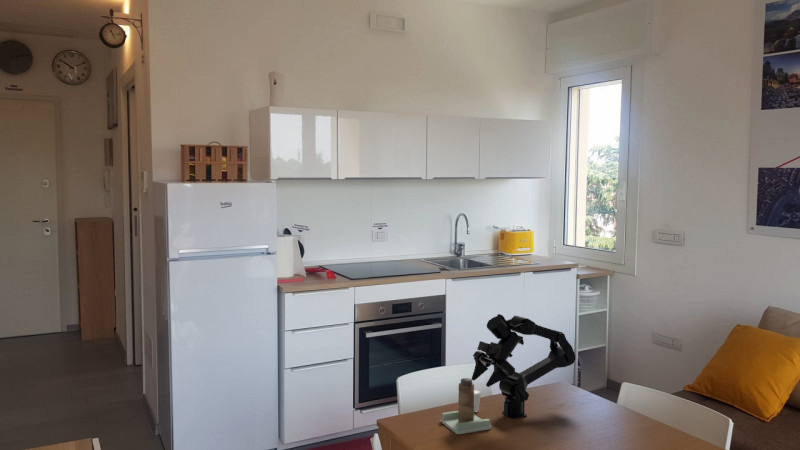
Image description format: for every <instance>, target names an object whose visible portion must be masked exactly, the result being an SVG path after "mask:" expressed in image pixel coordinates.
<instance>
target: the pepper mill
mask: <svg viewBox="0 0 800 450" xmlns="http://www.w3.org/2000/svg"><path fill="white" fill-rule="evenodd" d="M474 389H475V384H474V383H473V380H472V378H468V377H463V378H461V379H460V382H459V383H458V405H457V406H458V409H457V411H458V423H464V422H470V421H474V415H475V413H474Z"/></svg>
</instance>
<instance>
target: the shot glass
mask: <svg viewBox="0 0 800 450" xmlns="http://www.w3.org/2000/svg"><path fill="white" fill-rule="evenodd" d="M481 393H482V392H481V390H479V389H476V388H474V412H476V413H478V412H479V411H480V401H481Z"/></svg>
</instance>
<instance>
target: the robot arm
mask: <svg viewBox="0 0 800 450" xmlns="http://www.w3.org/2000/svg"><path fill="white" fill-rule="evenodd" d="M496 315H497V316H494V317H492V318H491V319H489V320H488V322H487V323H486V328H487V329H488V330H489V332H491V333H492V335H493V336H494V337H495V338H496V339H498V340H499V341H498V342H493V341H491V342H490V343H488V342H484V341H479V343H478V345H477V351H474V354H473V355H472V357H473V360H474V362H475V366H474V370H473V372H472V376H471V379H472V382H474V381H476V380H477V379H478V378H480V377H481V376H482V375H483V374H484V373H486V371H488V370H489V367H490V366H493V372H492V373H491V375H490V377H489V378H488V380H487V382H486V384H485V386H486V387H487V388H489V387H492V386H493V385H495V384H497V383H498V386H499V390H500V391H501V392H500V393H501V395H502V396H504V401H503V410H502V411H501V413H502V414H503V415H505V416H506V417H508V418H510V419H517V418H518V419H519V418H525V417H528V414H527V413H525V402H526V401H528V400H529V396H530V394H529V393H528V391H527V388H528V386H529V385H530V384H531V383H533V382H535V381H537V380H538V379H540V378H542V377H544V376H545V375H547V374H549V373H550V372H552V371H553V370H556V369H558V368H560V369H561V368H567V367H569V366H572V365H574V363H575V360H576V353H575V351H574V349H573V346H572V344H571V343H569V341H568V340H567V338H566V334H565V333H564V332H562V331H559V330H556V329H552V328H548V327H544V326H543V325H542V326H541V325H538V324H537V323H535V321H533V320H531V319H530V318H526V317H524V316H520V315H513V317H511V318H510V319H507V320H506V318H505V317H504V316H503V314H499V313H498V314H496ZM517 333H518V334H517ZM519 334H521V335H519ZM522 335H524V336H525V335H526V336H538V337H540V338H545V339H548V340H549V341H550V342H549V349H550V351H549V353H548V355H547V357H545V358H543V359H542V360H540V361H538V362H537V363H534V364H533V365H532V366H530V367H528V368H526V369H525V370H522V371H520V372H517V371H516V368H515V367H514V366H513V365H512V364H511V363H510V362H509V361H508V358H512V357H513V354H512V353H513V352H514V350H515V348H516V346H518V345H522V346H524V345H525V343H524V342H525V341H524V337H523V336H522Z"/></svg>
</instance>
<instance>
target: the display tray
mask: <svg viewBox="0 0 800 450" xmlns="http://www.w3.org/2000/svg"><path fill="white" fill-rule="evenodd" d="M440 421H441V422H442V423H441V422H440ZM440 421H439V422H440V423H441V424H443V425H444V426H445V427H447V428H448V429H449V430H451V432H453V433H454V434H456V435H463V434H469V433H475V432H480V431H487V430H492V427H493V426H492V425H491V419H489V418H484V419H482V418H480V416H479V417H478V416H477V415H476V414H474V421H470V422H464V423H458V410H454V411H447V412H446V411H445V412H441V418H440Z"/></svg>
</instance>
